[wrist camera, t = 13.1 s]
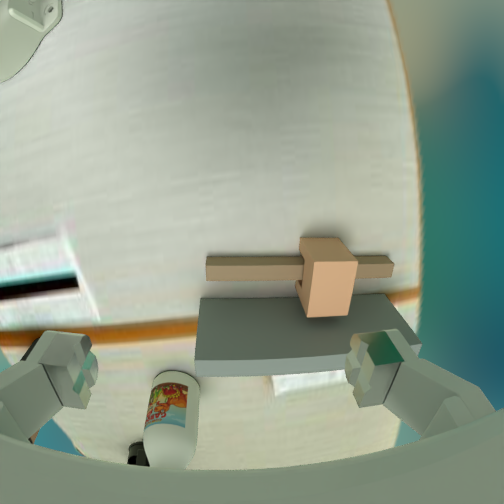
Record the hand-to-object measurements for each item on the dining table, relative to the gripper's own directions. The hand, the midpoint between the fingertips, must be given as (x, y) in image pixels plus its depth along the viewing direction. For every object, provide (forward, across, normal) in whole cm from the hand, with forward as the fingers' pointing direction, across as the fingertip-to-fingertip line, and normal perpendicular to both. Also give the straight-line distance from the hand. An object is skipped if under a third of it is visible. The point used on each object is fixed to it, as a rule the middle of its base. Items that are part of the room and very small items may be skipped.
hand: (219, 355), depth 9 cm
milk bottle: (+29, +8, +33) cm, 45 cm away
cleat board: (+29, -10, +14) cm, 34 cm away
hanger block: (+29, -12, +11) cm, 33 cm away
